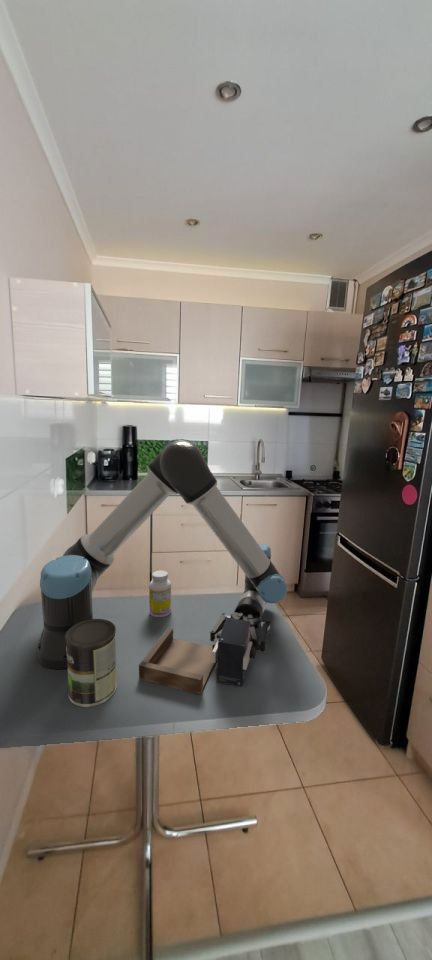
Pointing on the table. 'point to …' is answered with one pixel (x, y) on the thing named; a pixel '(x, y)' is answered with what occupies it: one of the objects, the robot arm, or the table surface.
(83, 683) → the coffee can
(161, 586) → the supplement bottle
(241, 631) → the small box
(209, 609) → the table surface
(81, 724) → the table surface
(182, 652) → the corner tray
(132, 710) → the table surface
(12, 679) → the table surface
